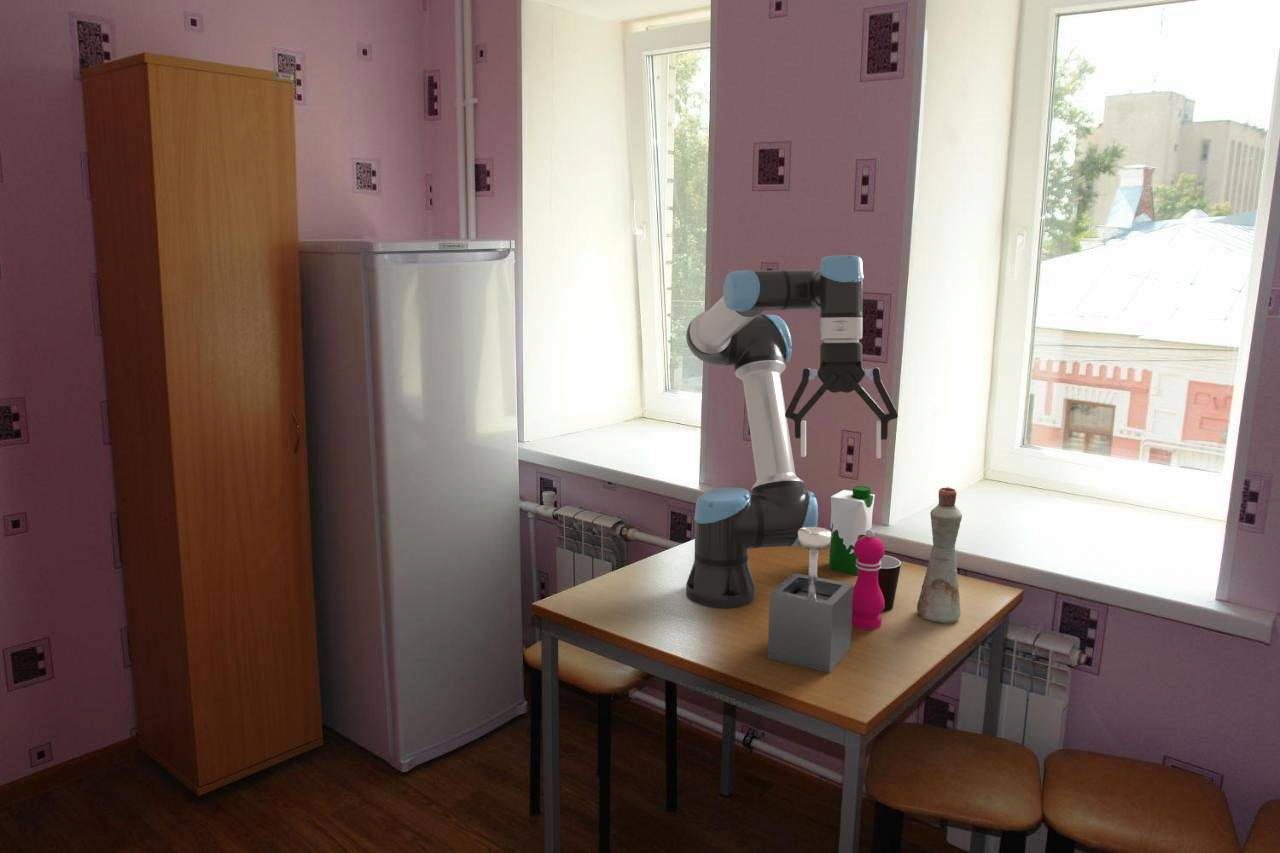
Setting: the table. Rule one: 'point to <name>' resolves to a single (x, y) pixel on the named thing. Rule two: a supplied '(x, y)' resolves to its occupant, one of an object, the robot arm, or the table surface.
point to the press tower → (810, 623)
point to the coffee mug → (889, 580)
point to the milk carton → (849, 526)
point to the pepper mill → (868, 583)
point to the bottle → (942, 563)
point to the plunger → (813, 555)
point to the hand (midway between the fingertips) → (840, 456)
